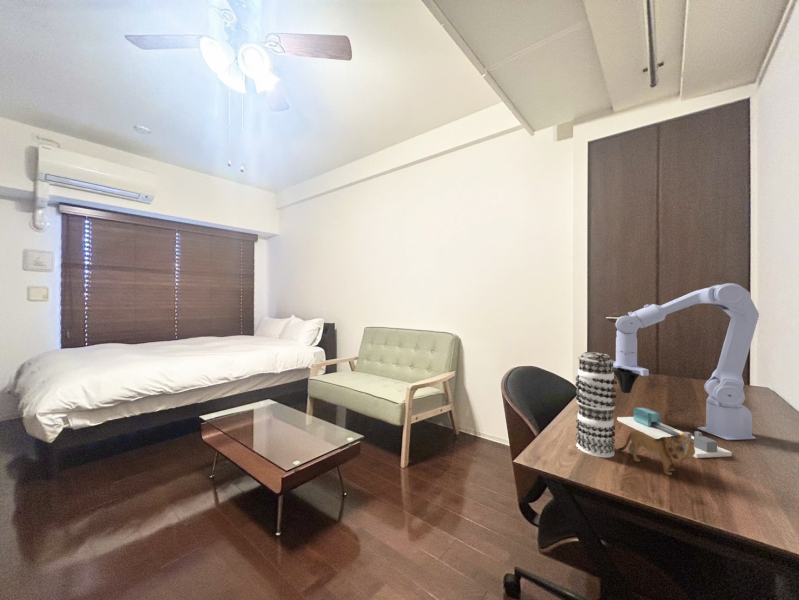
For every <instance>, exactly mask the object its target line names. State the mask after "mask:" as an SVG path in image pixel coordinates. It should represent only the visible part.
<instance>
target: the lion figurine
mask: <svg viewBox="0 0 799 600" xmlns="http://www.w3.org/2000/svg"><path fill="white" fill-rule="evenodd" d="M630 441H631V443H630ZM627 447H628V453H630V455H632V457H633V460H634V461H635V462H637V463H640V462H641V459H640V458H638V455H637V452H638V450H639V448H640V447H643V448H644V449H645V450H646V451H647V452H648V453H650V454H652V455H653V456H657V457H660V458H661V460H662V465H663V467H662V468H663V472H664V474H666V475H667V476H672V474H673V472H675V468H674V467H672V463H673V462H676V463H681V462H682V461H684V460H688V459H692V458H693V455H694V454H695V449H694V441H693V440H691V438H689V437H688V436H686V435H683V434H681V435H680V434H677V435H674V436H671V437H661V438H659V439H655V438H653V437H651V436H649V435H647V434H645V433H643V432H640V431H638V430H633V431H631V432H630V433H629V434H628V436H627V439H626V441H625V444H624V445H623V446H622V447H619V448H618V449H617V450H618V451H621V452H622V451H624V450H625V449H626V448H627Z"/></svg>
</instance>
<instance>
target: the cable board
mask: <svg viewBox="0 0 799 600" xmlns="http://www.w3.org/2000/svg"><path fill="white" fill-rule="evenodd" d="M617 420H618V423H622V424H624V425H625V426H628V427H630V428H632V429H634V430H635V431H640V432H643V433H645V434H646V435H648V436H650V437H652V438H655V439H659V438H661V437H671V436H674V435H677V434H680V435H681V434H683V435H686V436H688V437H689V438H691V440H693V441H694V449H695V454H694V455H693V457H694V458H696V459H703V458H704V459H705V458H722V457H732V456H733V455H732V454H733V452H732V451H730V450H727V449H726V448H725V449H724V448H722V447H720V446H718V440H717V441H716V440H714V439H712V438H710V437H707V436H705V435H703V432H700V431H697V430H696V431H694V436H693V435H692V433H691V432H689V431H682V430H679V429H676V428H674V427H672V426H670V425H667V424H664V423H662V422H660V425H658V424H656V423H654V422H651V426H647V425H644V424H642V423H640V422H638V421H635V420H634V415H633V416H621V417H620V416H617V417H616V421H617ZM693 457H692V458H693Z"/></svg>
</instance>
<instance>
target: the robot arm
mask: <svg viewBox="0 0 799 600" xmlns="http://www.w3.org/2000/svg"><path fill="white" fill-rule="evenodd" d="M698 304H712V305H713V306H715V307H718V308H719V309H721V310H722V311H724V312H725V313H726V314H727V316H729V318H730V321H729V325H728V328H727V330H726V335H725V337H724V338H725V339H724V341H723V345H722V348H721V353H720V355H719V360H718V363H717V367H716V369H715V370H714V371H712V374H711V376H710V378H709V379H708V380H707V381H706V382H705V383H704V390H705V392H706V393H707V395H708V397H707V398H706V401H705V402H706V404H705V405H706V406H705V411H706V412H705V415H706V417H705V418H706V419H705V426H698V427H697V429H698V430H701V431H702V432H705V433H708V434H711V435H713V436H715V437H719V438H721V439H723V440H726V441H738V440H756V439H757V437H756V436H754V435H753V414H752V412H751V411H750V410H749V408H748V407H746V406H745V405H743V403H744V402H745V401H746V394H745V392H744V386H745V382H744V379H743V373H744V369H745V365H746V362H747V358H748V356H749V352H750V348H751V344H752V341H753V338H754V336H755V332H756V331H755V330H756V327H757V323H758V320H759V317H760V316H759V315H760V312H759V310H758V309H757V307H756V305H755V303H754V301H753V299H752V297H751V292H749V291H748V290H747V289H746V288H744V287H743V286H742V285H740V284H738V283H733V282H726V283H723V284H714V285H712V286H710V287H705V288H701V289H697V290H694V291H692V292H689V293H687V294H685V295H683V296H680V297H677V298H675V299H673V300H670V301H667V302H666V303H664V304H661V305H658V304H654V303H652V304H649V303H647V304H645V305H643V308H642V307H641V308H640V309H637V310H635V311H633V312H632V311H629V312H627V314H628V315H622V316H619V317H617V319H616V322H615V323H614V326H615V328H616V329H617V330H616V337H615V360H613V361H614V362H613V372H614V376H615V378H617V381H618V384H619V387H620V391H621V392H622V393H624V394H631V392H632V389H633V386H634V384H635V381H636V380H637V379H638V377H639V376H642V377H646V376H647V377H649V376H650V371H649V370H650V369H647V368H644V367H641V366H639V365H638V338H637V331H638V330H639V328H640V329H644V328H647V327H649V326H651V325H655V324H658V323H660V322H662V321H665V319H666V316H667V315H669V314H672V313H674V312H677V311H680V310H683V309H686V308H689V307H691V306H694V305H698ZM614 368H615V370H614Z"/></svg>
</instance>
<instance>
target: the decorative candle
mask: <svg viewBox="0 0 799 600" xmlns="http://www.w3.org/2000/svg"><path fill="white" fill-rule="evenodd" d="M577 359H578V367H579V368H578V369H577V376H575V381H576V382H575V385H574V386H576V388H577V389H576V390H575V394H576V396H575V399H576V403H577V404H578V412H577V418H576V419H575V422H576V423H577V424H576V426H575V428H576V429H577V430H576V432H575V435H576V438H575V441H576V445H575V446H576V448H577V447H578V448H577V449H578V450H579V449H580V450H579V451H580V452H582V453H584V454H586V455H589V456H593V457H596V458H612V457H614V456H615V450H616V445H615V444H616V439H615V438H614V437H615V436H616V432H615V430H616V426H615V425H614V417H613V416H614V414H613V413H614V411H613V410H615V408H616V403H615V402H614V401H613V400H614V399H616V398H617V395H616V394H614V393H616V392H617V389H616V388H615V387H613V385H617V384H618V382H617V381H618V380H615V379H616V375H615V374H614V367H613V362H614V361H615V360H614V359H612V358H611V357H610V355H609V354H607V353H603V352H597V351H596V352H595V351H585V352H583V353H582V354H581V355H580V356H578V357H577Z"/></svg>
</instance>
